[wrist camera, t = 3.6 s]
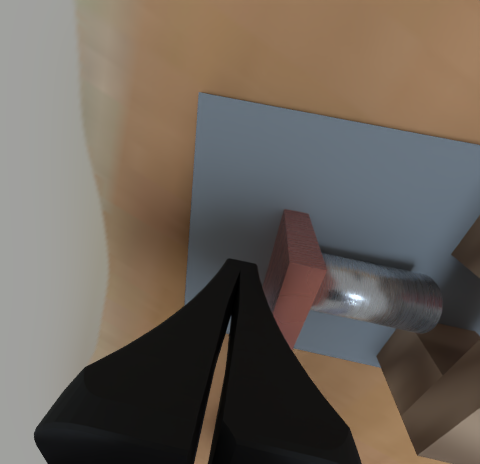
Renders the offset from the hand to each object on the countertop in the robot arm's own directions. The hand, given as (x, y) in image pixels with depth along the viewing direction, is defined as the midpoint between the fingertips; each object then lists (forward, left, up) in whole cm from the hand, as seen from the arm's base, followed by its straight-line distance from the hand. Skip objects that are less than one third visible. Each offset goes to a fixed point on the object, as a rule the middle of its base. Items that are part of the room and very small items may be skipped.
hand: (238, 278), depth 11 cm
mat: (0, -7, -3) cm, 8 cm away
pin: (0, -5, -2) cm, 6 cm away
